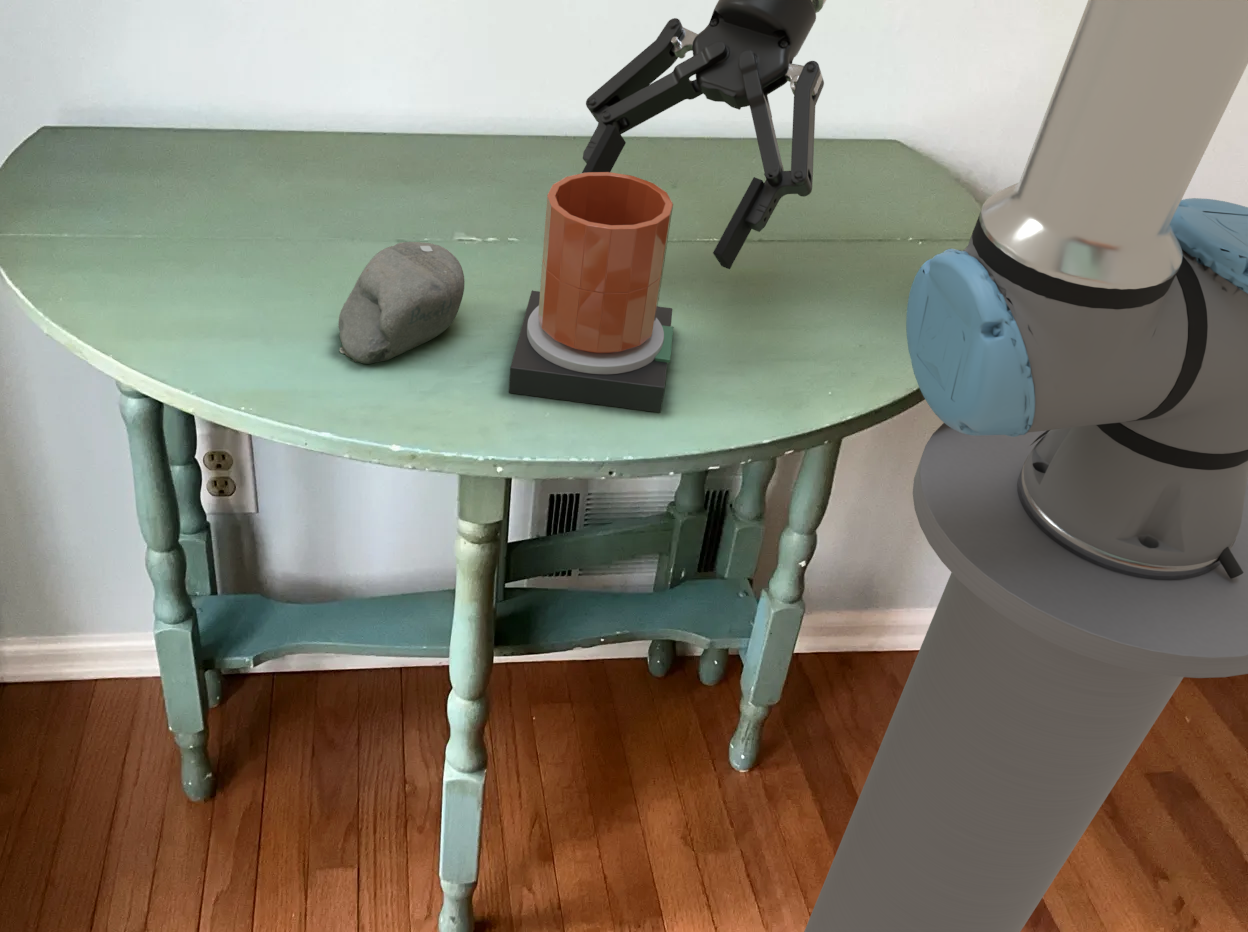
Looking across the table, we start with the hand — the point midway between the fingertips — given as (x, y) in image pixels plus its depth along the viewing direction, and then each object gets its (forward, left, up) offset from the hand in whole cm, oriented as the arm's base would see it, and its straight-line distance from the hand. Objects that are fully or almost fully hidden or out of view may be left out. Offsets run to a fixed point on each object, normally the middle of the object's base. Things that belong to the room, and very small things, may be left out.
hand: (647, 232), depth 95 cm
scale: (-2, +6, -9) cm, 11 cm away
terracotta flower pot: (-2, +6, -6) cm, 9 cm away
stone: (+9, +18, -10) cm, 22 cm away
